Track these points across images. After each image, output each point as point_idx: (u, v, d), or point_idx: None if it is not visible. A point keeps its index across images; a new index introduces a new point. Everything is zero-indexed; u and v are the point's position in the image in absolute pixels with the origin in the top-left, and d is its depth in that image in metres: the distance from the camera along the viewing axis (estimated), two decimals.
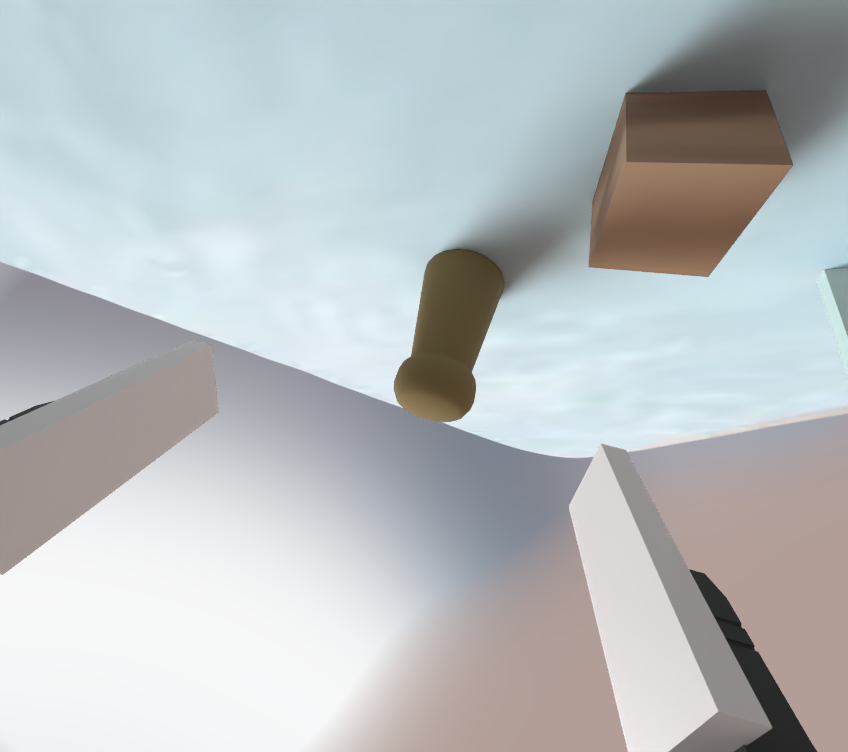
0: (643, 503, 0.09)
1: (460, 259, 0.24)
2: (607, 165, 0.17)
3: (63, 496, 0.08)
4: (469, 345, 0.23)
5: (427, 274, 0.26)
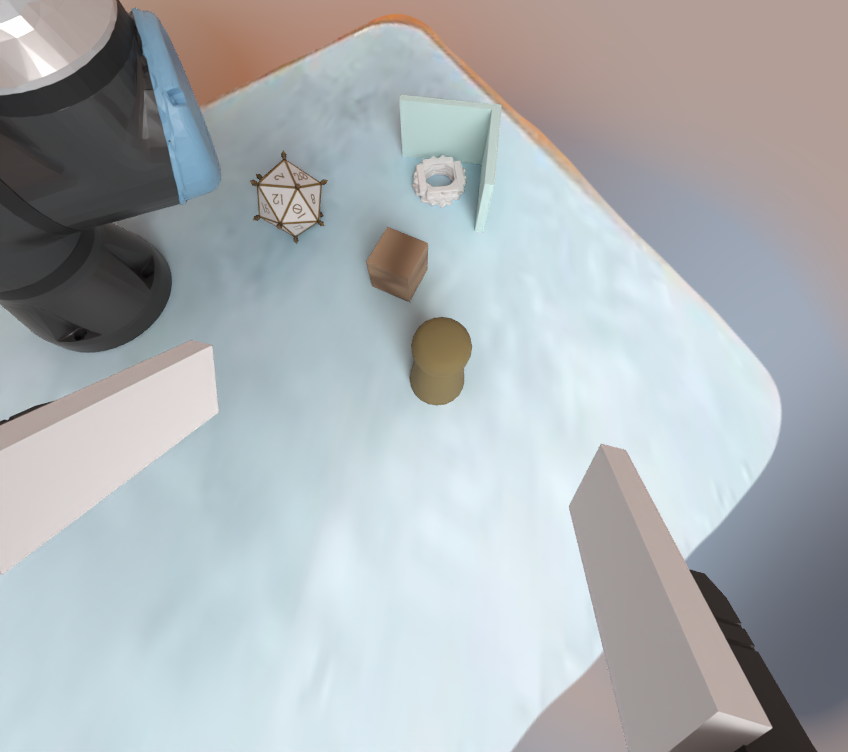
0: (643, 503, 0.09)
1: None
2: (388, 288, 0.42)
3: (63, 496, 0.08)
4: None
5: (414, 387, 0.38)
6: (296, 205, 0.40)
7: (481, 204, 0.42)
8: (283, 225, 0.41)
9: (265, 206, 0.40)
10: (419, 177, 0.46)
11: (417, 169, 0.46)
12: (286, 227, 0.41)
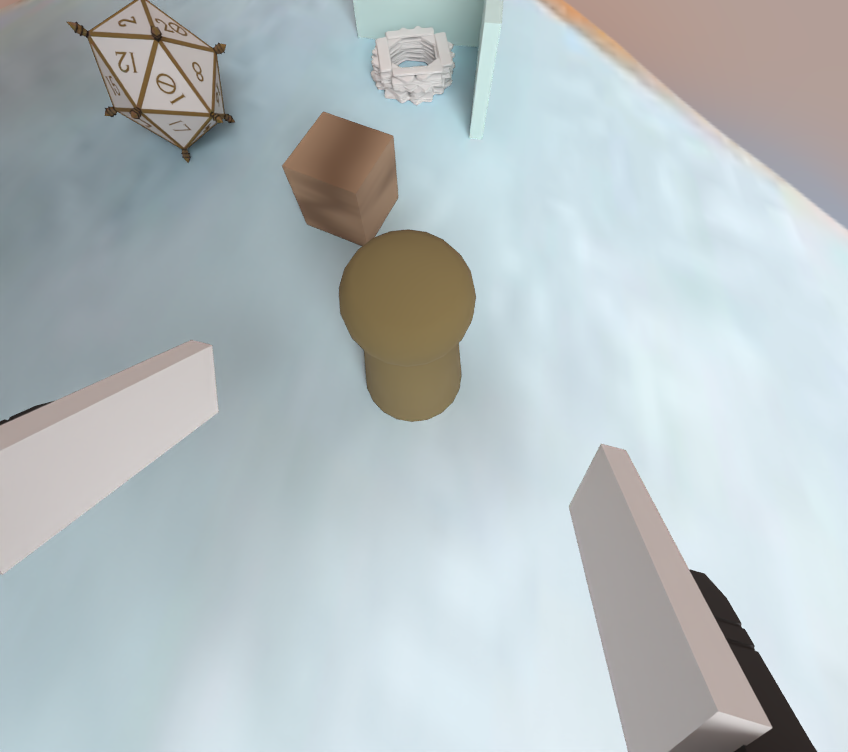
0: (643, 503, 0.09)
1: None
2: (331, 224, 0.25)
3: (63, 496, 0.08)
4: None
5: (371, 390, 0.21)
6: (162, 77, 0.23)
7: (479, 76, 0.25)
8: (146, 116, 0.24)
9: (111, 81, 0.23)
10: (380, 55, 0.29)
11: (377, 44, 0.30)
12: (155, 122, 0.24)
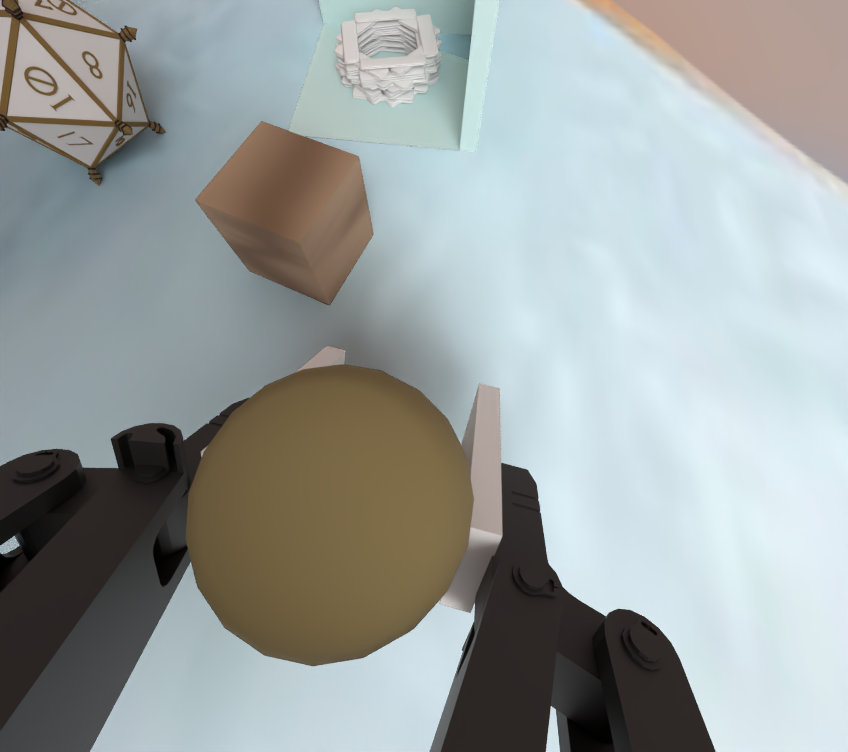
0: (490, 420, 0.11)
1: None
2: (278, 274, 0.18)
3: None
4: None
5: None
6: (34, 71, 0.16)
7: (470, 67, 0.18)
8: (17, 126, 0.17)
9: None
10: (345, 43, 0.23)
11: (342, 29, 0.23)
12: (35, 134, 0.18)
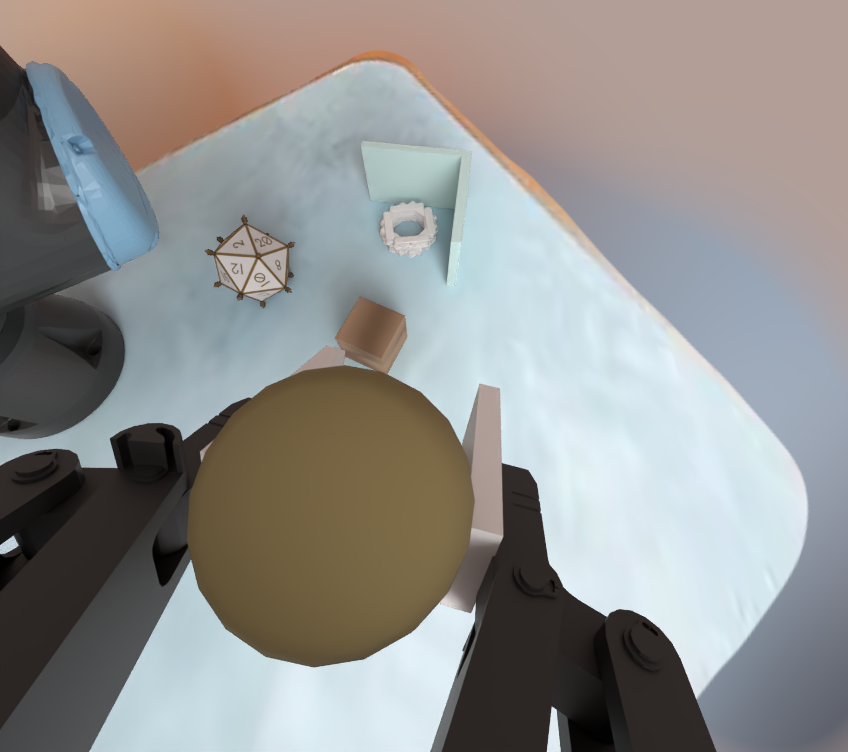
0: (491, 420, 0.11)
1: None
2: (363, 361, 0.38)
3: None
4: None
5: None
6: (258, 274, 0.36)
7: (450, 260, 0.38)
8: (245, 295, 0.37)
9: (224, 274, 0.36)
10: (386, 226, 0.42)
11: (384, 217, 0.43)
12: (249, 296, 0.37)
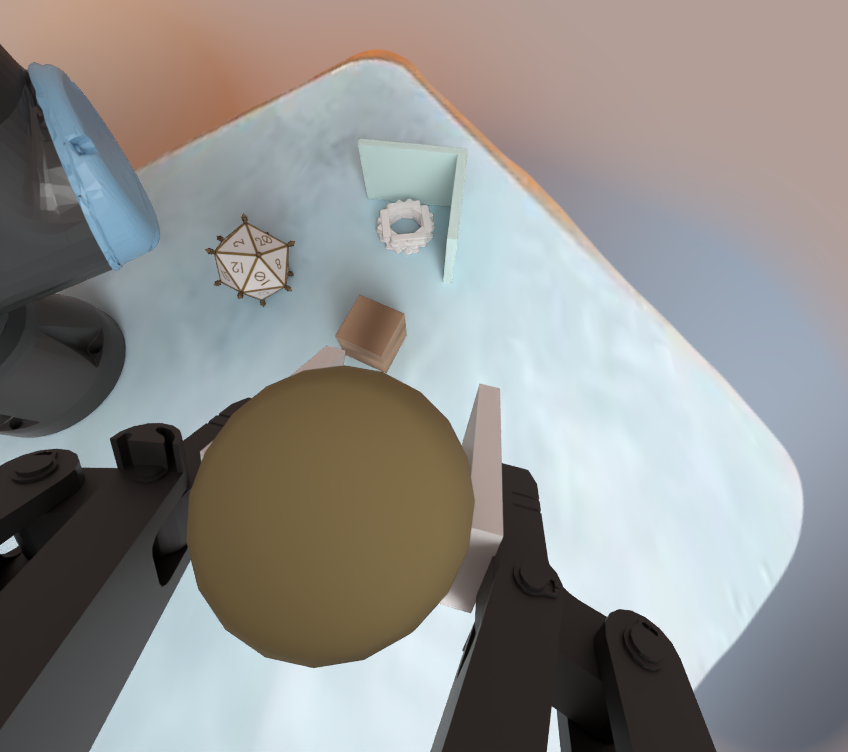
0: (491, 420, 0.11)
1: None
2: (362, 359, 0.38)
3: None
4: None
5: None
6: (258, 273, 0.36)
7: (446, 257, 0.38)
8: (245, 293, 0.37)
9: (224, 273, 0.36)
10: (383, 223, 0.43)
11: (381, 215, 0.43)
12: (249, 294, 0.38)
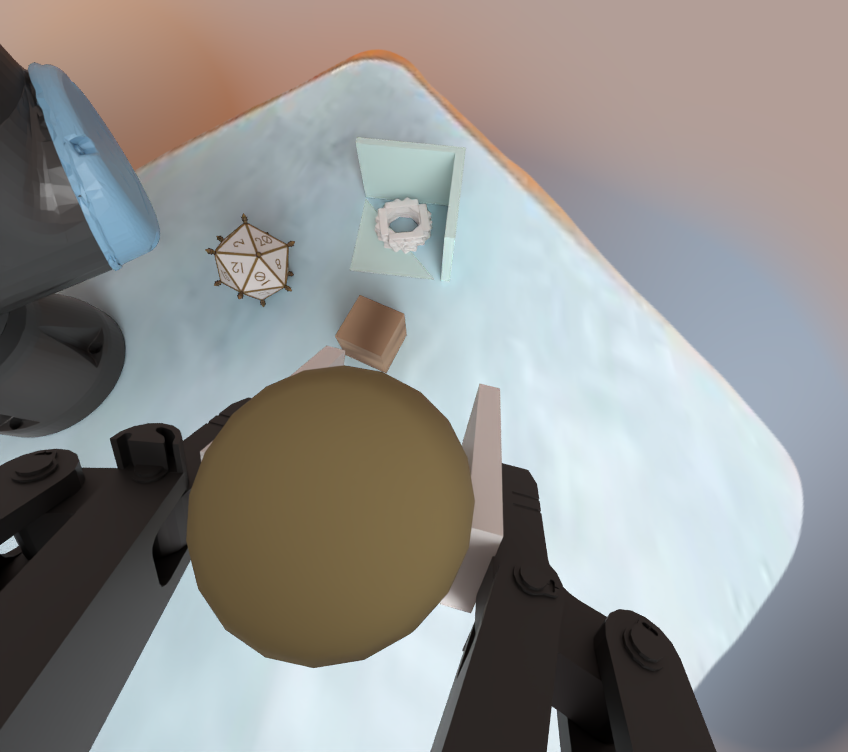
0: (491, 420, 0.11)
1: None
2: (362, 359, 0.38)
3: None
4: None
5: None
6: (258, 273, 0.36)
7: (444, 256, 0.38)
8: (245, 293, 0.37)
9: (224, 273, 0.36)
10: (381, 222, 0.43)
11: (379, 213, 0.43)
12: (249, 294, 0.38)
